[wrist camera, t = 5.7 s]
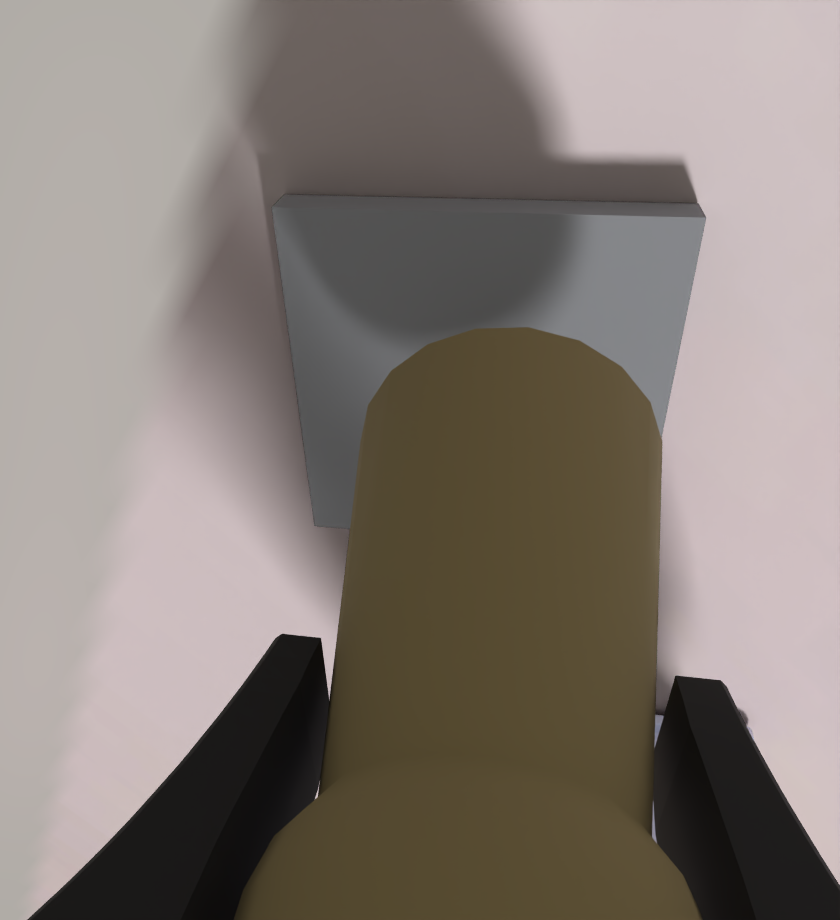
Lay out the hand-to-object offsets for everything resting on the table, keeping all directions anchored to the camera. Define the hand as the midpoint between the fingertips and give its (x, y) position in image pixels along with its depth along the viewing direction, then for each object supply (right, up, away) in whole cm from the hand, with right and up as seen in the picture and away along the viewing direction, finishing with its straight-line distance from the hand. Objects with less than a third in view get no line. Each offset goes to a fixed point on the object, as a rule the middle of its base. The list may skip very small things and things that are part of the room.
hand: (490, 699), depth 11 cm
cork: (+1, +4, +4) cm, 6 cm away
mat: (0, +6, +9) cm, 10 cm away
